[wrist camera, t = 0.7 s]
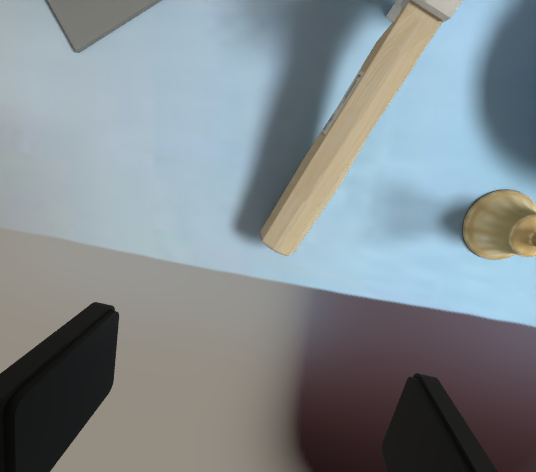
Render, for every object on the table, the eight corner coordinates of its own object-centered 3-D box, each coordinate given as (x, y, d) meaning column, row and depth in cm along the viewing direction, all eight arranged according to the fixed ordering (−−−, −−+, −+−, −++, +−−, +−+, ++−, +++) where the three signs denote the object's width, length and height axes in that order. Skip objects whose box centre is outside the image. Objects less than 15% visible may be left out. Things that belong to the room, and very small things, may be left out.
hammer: (286, 290, 30) (570, -103, 16) (243, 266, 30) (495, -155, 16) (300, 223, 44) (460, -19, 30) (271, 207, 44) (419, -46, 30)
